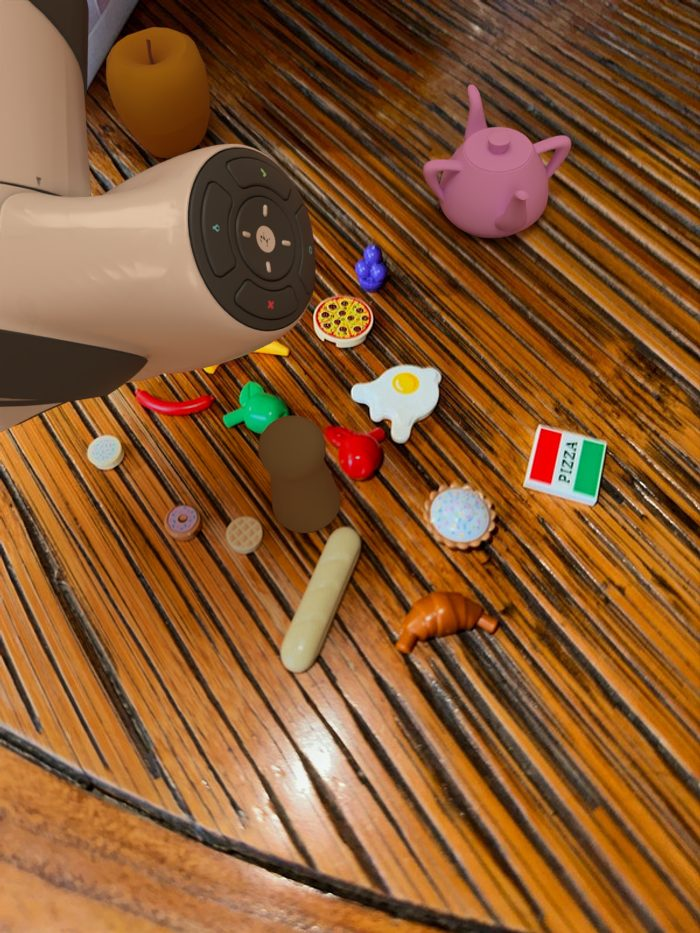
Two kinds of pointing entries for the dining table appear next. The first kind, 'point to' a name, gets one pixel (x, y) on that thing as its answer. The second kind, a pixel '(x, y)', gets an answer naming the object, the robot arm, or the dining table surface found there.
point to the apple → (160, 90)
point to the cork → (298, 474)
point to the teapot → (494, 177)
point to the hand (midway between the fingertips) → (20, 336)
